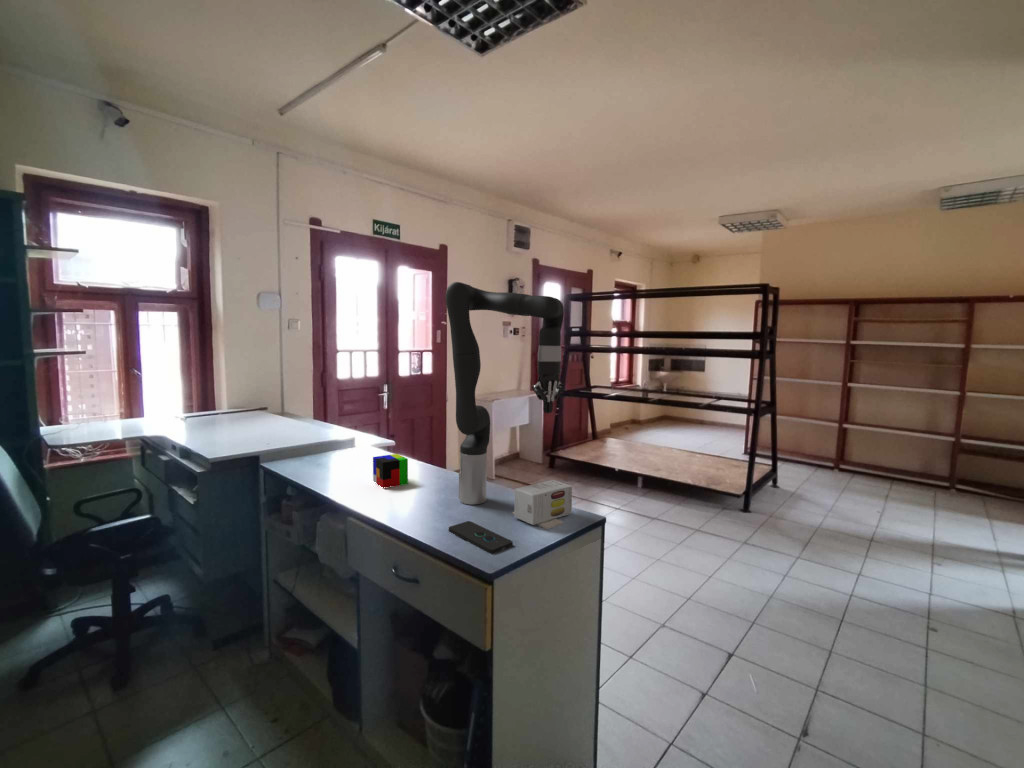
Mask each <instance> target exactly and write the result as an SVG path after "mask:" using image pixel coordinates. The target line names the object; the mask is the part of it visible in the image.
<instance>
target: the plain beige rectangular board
mask: <svg viewBox="0 0 1024 768" xmlns="http://www.w3.org/2000/svg"><path fill="white" fill-rule="evenodd" d="M514 513H515V510H514V511H512V515H514ZM563 524H564V521H563V520H559V519H558V518H554V519H551V520H548V521H544V522H541V523H538V524H535V525H536V526H538V525H539V527H541V528H543V529H545V530H549V529H552V528H554V527H557V526H561V525H563Z"/></svg>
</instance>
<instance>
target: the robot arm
mask: <svg viewBox="0 0 1024 768" xmlns="http://www.w3.org/2000/svg"><path fill="white" fill-rule="evenodd" d="M444 297H445V306H446V310H447V316H448V321H449V325H450V326H449V327H450V337H451V349H452V362H453V363H452V365H453V373H454V385H455V422H456V426H457V429H458V431H459V432H460V433H461V434H464V435H466V436H465V438H464V439H463V441H462V442H461V444H460V446H459V452H460V453H459V455H460V456H459V458H460V459H459V461H460V462H459V472H458V499H459V501H460V503H462V504H465V505H481V504H484V503H486V501H487V481H488V480H487V478H488V475H487V472H488V469H487V465H488V464H487V462H488V456H487V455H488V446H489V443H490V436H491V435H490V434H491V417H490V413H489V411H488V410H487V407H486V408H485V407H484V406H482V405H477V403H476V388H477V385H478V381H479V378H480V374H481V364H482V363H481V353H480V346H479V344H478V340H477V338H476V336H475V334H474V330H473V327H472V325H471V324H472V323H471V319H470V312H471V311H493V312H497V313H498V312H499V313H503V314H508V315H514V316H522V317H532V318H533V317H535V318H539V319H542V325H541V328H540V330H539V333H538V350H537V368H536V369H537V374H538V377H537V382H536V383H535V384H533V385H532V386H531V388H532V390H533V392H534V394H535V395H536V397H537V399H538V400H539V401H542V403H543V409H542V410H543V412H544V413H545V414H552V413H553V409H554V408H553V407H554V401H556V400H558V399H559V397H560V396H561V394H562V392H563V390H564V389H565V387H566V385H565V383H562V382H561V380H560V375H561V373H562V372H561V371H562V368H561V367H562V349H561V348H562V347H561V345H562V344H561V343H562V334H561V333H562V328H563V324H564V323H563V322H564V313H565V312H564V311H565V310H564V304H563V302H562V301H561V300H560V299H558V298H556V297H553V296H547V295H531V294H525V293H519V292H496V291H495V292H494V291H486V290H483V289H480V288H477V287H473V286H472V285H470V284H467V283H463V282H460V281H455V282H452V283H450V284H449V285H448V287H447V288H446V291H445V296H444Z"/></svg>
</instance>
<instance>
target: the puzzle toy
mask: <svg viewBox="0 0 1024 768" xmlns="http://www.w3.org/2000/svg"><path fill="white" fill-rule="evenodd" d="M408 461H409V458H407V457H405V456H403V455H402V454H399V453H394V454H393V453H392V454H385V455H379V456H373V457H372V477H373V478H372V482H373V481H374V482H376V483H377V484H378V485H377V484H376V483H375V484H376V485H377V486H379V485H380V486H381V487H383V488H382V489H385V488H384V487H389V488H391V487H390V486H394V487H399V485H400V486H404V485H408V483H409V475H408V474H409V472H408V470H409V469H408V468H409V467H408V466H409V464H408V463H409V462H408ZM374 482H373V483H374ZM380 486H379V487H380ZM381 487H380V488H381Z"/></svg>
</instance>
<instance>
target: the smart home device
mask: <svg viewBox="0 0 1024 768" xmlns="http://www.w3.org/2000/svg"><path fill="white" fill-rule="evenodd" d="M448 532H449V533H450V532H451V533H450V534H452V533H453V534H452V535H454V534H455V535H454V536H456V537H458V538H460V539H461V540H463V541H465V540H466V541H465V542H467V541H468V543H469V542H470V543H469V544H471V545H473V546H475V547H477V548H478V547H479V549H480V550H482V551H484V552H486V553H488V554H490V553H491V555H493V554H495V553H498V552H501V551H503V550H507V549H509V548H512V547H513V545H514V544H513V543H514V542H513V540H510V539H508V538H506V537H504V536H502V535H501V534H498V533H497V532H493V531H492V530H489V529H488V528H485V527H483V526H481V525H479V524H477V523H475V522H473V521H471V520H470V521H469V520H467V521H463V522H461V523H457V524H454V525H450V526H449V527H448Z"/></svg>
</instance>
